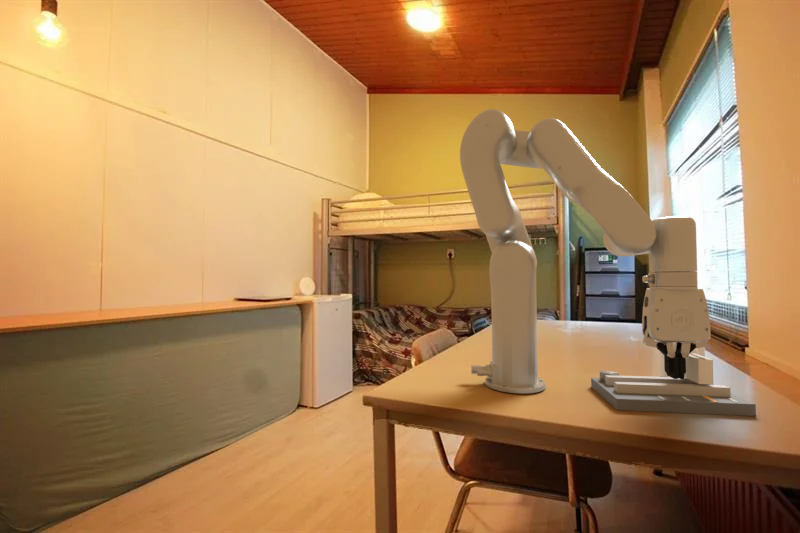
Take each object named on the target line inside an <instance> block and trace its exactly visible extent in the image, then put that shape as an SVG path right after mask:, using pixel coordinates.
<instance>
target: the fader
mask: <svg viewBox="0 0 800 533" xmlns="http://www.w3.org/2000/svg"><path fill="white" fill-rule="evenodd" d="M684 377H685V384H700V385H710V384H713V385H714V359H711V358H709V357H706V356H705V357H704V356H701V355H698V354H695V353H690V354H689V357H687V358H686V373H685V374H684Z"/></svg>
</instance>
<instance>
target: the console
mask: <svg viewBox="0 0 800 533" xmlns="http://www.w3.org/2000/svg"><path fill="white" fill-rule="evenodd" d="M590 382H591V384H590V388H592V389H593V390H594V391H595V392H596V393H597V394H598V395H599V396H601V398H603V399H604V400H605V401H606V402H607V403H608V404H610V405H611V406H612V407H613V408H614V409H615V410H616V411H628V412H629V411H630V412H631V411H632V412H633V411H634V412H650V413H652V412H653V413H654V412H655V413H656V412H657V413H676V414H677V413H679V414H680V413H681V414H683V413H684V414H699V415H700V414H701V415H721V416H722V415H725V416H747V417H748V416H750V417H756V416H757V405H756V403H754V402H752V401H749V400H747V399H745V398H743V397H741V396H739V395H736V394H734V393H732V392H731V387H729V386H728V385H724V384H721V385H720V384H714V383H713V384H710V385H700V384H685V378H684V379H679V378H678V379H673V378H672V377H662V376H651V375H650V376H646V375H645V376H644V375H643V376H642V375H641V376H640V375H620V373H619V372H616V371H612V370H601V371H599V377H591V378H590Z"/></svg>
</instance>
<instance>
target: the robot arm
mask: <svg viewBox="0 0 800 533" xmlns="http://www.w3.org/2000/svg"><path fill="white" fill-rule="evenodd" d="M459 161H460V166H461V171H462V175H463V179H464V181H465V184H466V188H467V192H468V195H469V199H470V202H471V204H472V208H473V211H474V214H475V217H476V222H477V225H478V227H479V229H480V231H481V232H482V233H483V234H485V236H486V240H487V243H488V245H489V249H490V251H491V256H490V260H489V282H490V299H491V300H490V304H491V306H490V308H491V353H492V354H491V359H492V360H489V364H485V365H479V364H478V365H476V364H472V365H471V367H470V368H471V375H476V376H477V377H483V376H485V379H484V383H485V385H486V386H487V387H488V388H490V389H492V390H494V391H495V390H496V391H498V392H503V393H509V394H523V395H524V394H525V395H526V394H536V393H540V392H543V391H544V390H545V389H546V381H545V380H544V379H542V378H540V377H539V374H538V373H539V372H538V371H539V369H538V368H539V367H538V365H539V364H538V361H539V360H538V314H537V311H538V308H537V307H538V306H537V304H538V303H537V300H538V299H537V267H538V259H537V256H536V252H535V250H534V247H533V244H532V242H531V239H530V236H529V234H528V231H527V228H526V225H525V223H524V219H523V217H522V214H521V212H520V209H519V208H518V205H517V204H516V203H515V201H514V199H513V196H512V194H511V191H510V190H509V187H508V184H507V180H506V177H505V174H504V171H503V168H502V165H507V166H515V167H522V168H530V169H542V170H544V172H545V173H546V174H547V175H548V176H549V178H550V179H551V180H552V181H553V183H554V185H555V186H556V187H557V188H558V189H559V190H560V192H561V194H563V196H564V197H566V198H567V199H568V200H569V201H570V202H572V203H575V204H577V205H579V206H580V207H581V208H582V209H583V210H584V211H585V212H586V213H588V214H589V216H590V217H591V218H592V219H593V220H594V222H595V223H596V224H597V225H598V226H599V227H600V229H601V230H602V232H604V235H603V245H604V247H605V248H606V250H607V251H608V252H609V253H611V254H612V255H614V256H617V257H621V258H622V257H633V256H639V255H648V258H649V259H648V262H649V263H648V266H649V268H648V269H649V272H648V274H647V275H643V276H642V279H641V280H642V283H646V284H648V286H649V288H648V287H647V288H646V290H645V294H644V298H643V305H642V316H641V318H642V319H641V330H642V334H643V340H642V344H643V345H645V346H647V347H651V348H654V349H657V350H658V351H659V353H660V352H661V353H662V354H663V355H664V367H665V372H666V373H667V375H668V376H670V377H672V378H673V379H678V378H679V379H684V374H685V373H686V358H687V357H689V354H690V353H691V352H692V351H693V350H694V349H695V348H701V347H705V348H706V347H707V346H708V341H709V340H710V339H711V332H712V331H711V330H712V329H711V320H710V314H709V313H710V312H709V307H708V302H707V299H706V295H705V292H704V289H703V288H698V287H699V286H698V256H697V254H698V251H697V247H698V246H697V224H696V221H695V219H694V218H693V217H690V216H687V215H685V216H684V215H682V216H681V215H677V216H676V215H673V216H665V217H664V216H663V217H657V218H655V219H651V217H650V216H649V215H648V214H647V212H645V210H644V209H643V208H642V207H641V205H640V204H639V202H637V201H636V199H635V198H634V197H633V195H631V194H630V193H629V191H627V189H626V188H625V187H624V186H623V185H622V184H620V183H619V182H618V181H616V179H614V178H613V177H612V175H610V174H609V173H608V172H606V171H605V170H604V169H603V168H602V167H601V166H600V165H599V163H598V162H597V161H596V160H595V159H594V158H593V156H591V154H590V153H589V152H588V150H586V148H585V146H583V144H582V143H581V142H580V141H579V139H578V138H577V137H576V136H575V135H574V134H573V132H572V131H571V130H570V129H569V128H568V126H567V125H566V124H565V123H563V122H562V121H561V120H559V119H557V118H554V117H549V118H548V117H547V118H544V119H541V120H540V121H538V122H536V123H535V124H534V125H533V126H532V128H531V129H530V130H528V131H526V130H517V129H515V128H514V125H513V122H512V121H511V118H510V117H509V116H507V114H506V113H505V112H503V111H502V110H499V109H495V108H494V109H493V108H492V109H490V108H489V109H486V110H483V111H481V112H480V113H478V114H477V115H476V116H475V117H474V118H473V119H472V120H471V121H470V123H468V125H467V127H466V128H465V130H464V133H463V135H462V138H461V142H460V148H459ZM673 342H676V343H675V350H674V345H673Z"/></svg>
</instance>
